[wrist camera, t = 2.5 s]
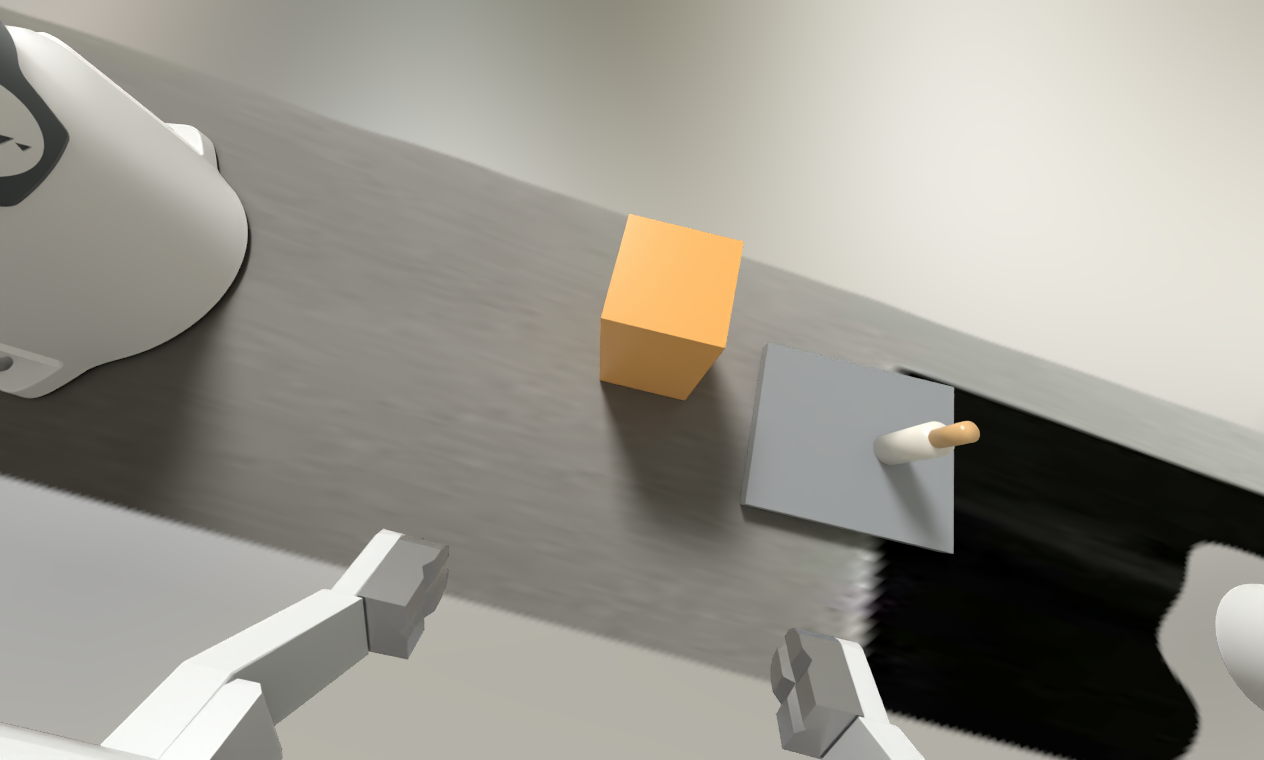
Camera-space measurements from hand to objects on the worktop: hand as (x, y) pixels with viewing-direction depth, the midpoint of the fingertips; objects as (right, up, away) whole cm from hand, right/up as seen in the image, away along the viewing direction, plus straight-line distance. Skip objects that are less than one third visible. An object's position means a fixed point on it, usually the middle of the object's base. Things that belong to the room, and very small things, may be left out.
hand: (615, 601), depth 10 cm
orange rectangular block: (+2, +7, +18) cm, 19 cm away
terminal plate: (+14, +1, +17) cm, 22 cm away
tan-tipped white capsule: (+16, +1, +17) cm, 23 cm away
